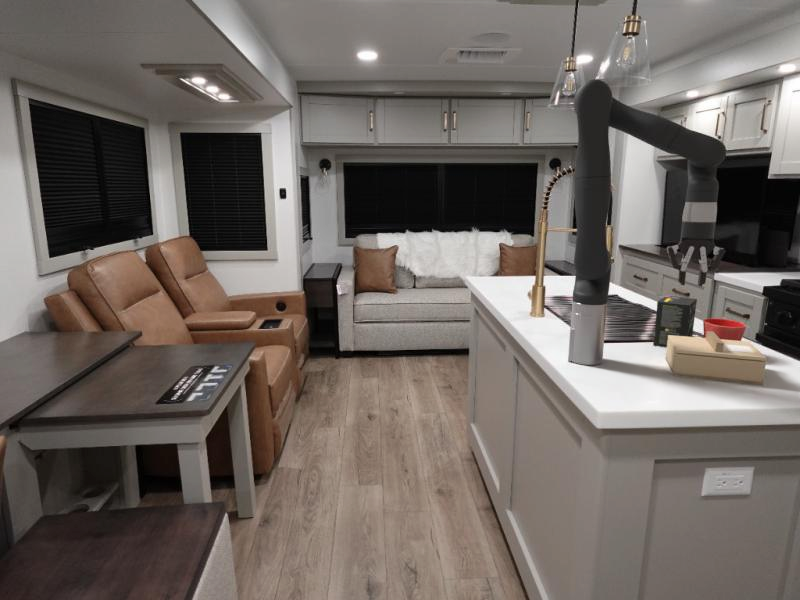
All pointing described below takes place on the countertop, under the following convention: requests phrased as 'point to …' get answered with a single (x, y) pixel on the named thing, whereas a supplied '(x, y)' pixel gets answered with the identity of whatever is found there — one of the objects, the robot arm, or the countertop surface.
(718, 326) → the flower pot
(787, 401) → the countertop surface
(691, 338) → the lid
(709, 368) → the box
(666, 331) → the tampon box
